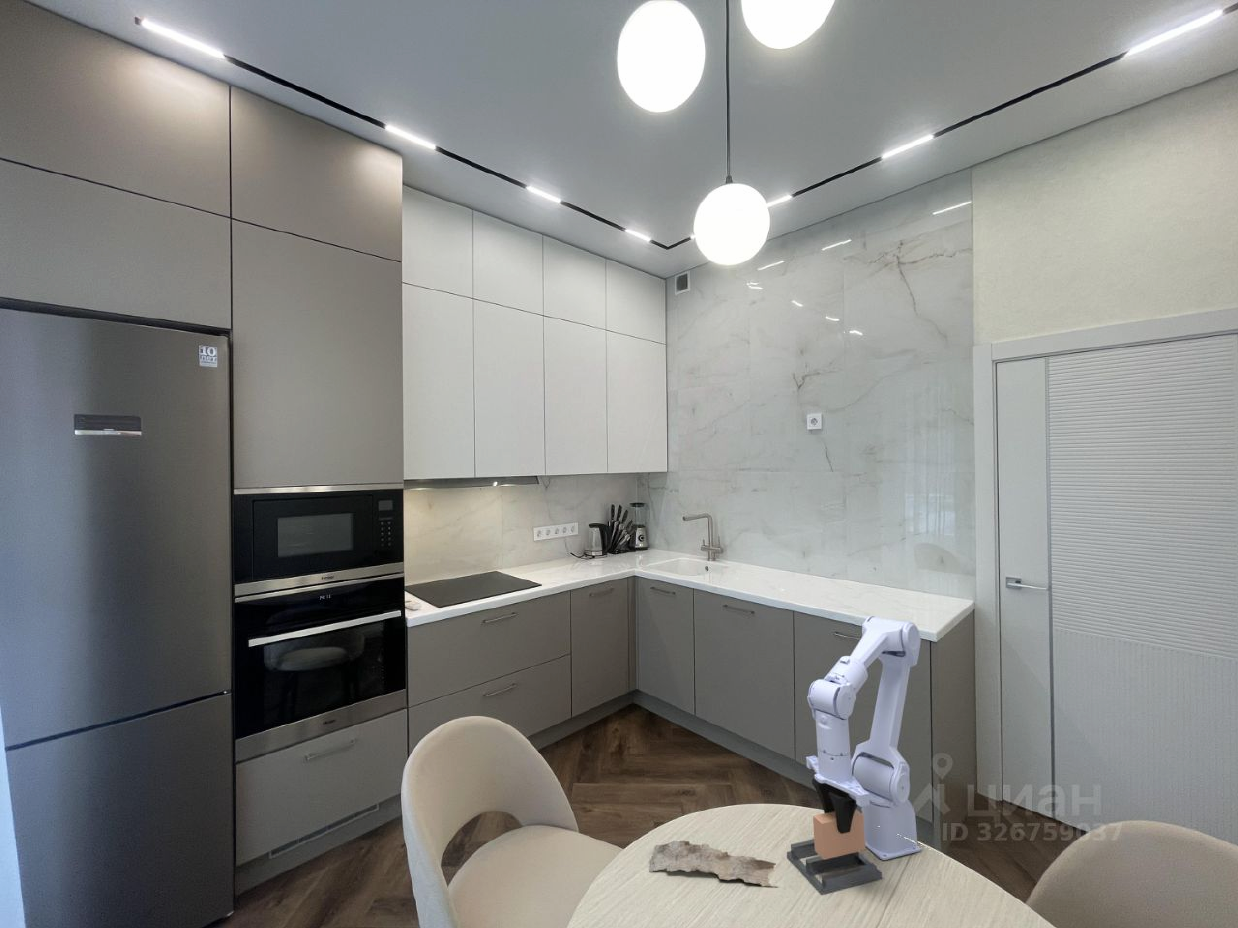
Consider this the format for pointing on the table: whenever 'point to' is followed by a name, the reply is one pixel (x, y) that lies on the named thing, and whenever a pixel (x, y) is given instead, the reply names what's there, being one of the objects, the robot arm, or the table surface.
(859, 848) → the terracotta strip
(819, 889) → the drying rack
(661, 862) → the stone fragment
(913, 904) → the table surface
